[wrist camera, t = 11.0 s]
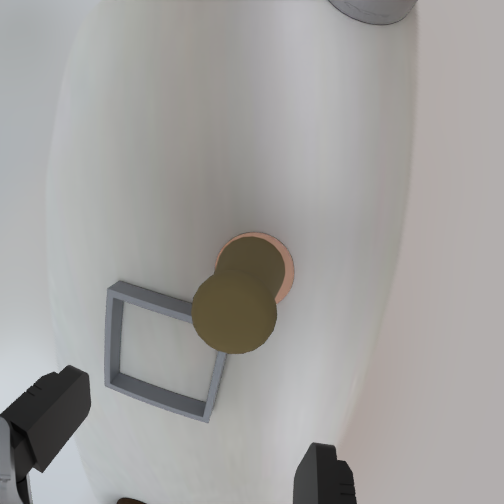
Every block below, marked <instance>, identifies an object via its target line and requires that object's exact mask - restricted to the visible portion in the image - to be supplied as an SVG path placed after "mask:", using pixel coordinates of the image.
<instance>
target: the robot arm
mask: <svg viewBox="0 0 504 504" xmlns="http://www.w3.org/2000/svg"><path fill="white" fill-rule="evenodd" d="M329 1H330V2H331V3H332V4H333V5H334V6H335V7H336V8H338V9H339V10H340V11H342V12H343V13H345V14H347V15H348V16H350V17H352V18H355V19H357V20H360V21H362V22H367V23H371V24H381V25H382V24H391V23H394V22H398V21H399V20H401V19H403V18H404V17H405V16H406V15H407V14H408V12H409V11H410V10H411V8H412V7H413V6H414V4H415V3H416V2H417V0H329ZM90 407H91V397H90V383H89V375H88V373H86V372H84V371H82V370H79V369H77V368H75V367H73V366H71V365H68V366H66V367H65V368H64V369H63V370H62V371H61V372H60V373H59V374H58V373H56V372H52V373H49V374H47V375H44V376H42V377H41V378H40V379H38V380H37V381H36V383H34V385H33V386H31V387H30V388H28V389H27V391H26V392H24V393H23V394H22V395H21V396H20V397H19V398H18V399H16V401H14V402H13V403H12V404H11V405H10V406H9V407H8V408H7V409H6V410H5V411H3V412H2V413H1V414H0V504H33V501H32V494H31V487H30V479H29V473H28V472H29V471H30V470H31V469H32V467H33V468H35V469H37V470H38V471H40V472H41V473H43V472H44V471H45V469H46V468H47V467H48V465H49V464H50V463H51V461H52V460H53V459H54V457H55V456H56V455H57V454H58V453H59V451H60V450H61V449H62V447H63V446H64V445H65V444H66V442H67V441H68V440H69V438H70V437H71V436H72V435H73V433H74V432H75V431H76V430H77V428H78V427H79V426H80V425H81V423H82V422H83V421H84V420H85V418H86V417H87V415H88V413H89V411H90ZM293 504H357V502H356V497H355V487H354V479H353V473H352V471H351V469H350V468H349V466H348V464H347V463H346V461H341V460H337V455H336V448H335V446H334V445H328V444H321V443H314V442H313V443H312V444H311V445H310V447H309V449H308V450H307V452H306V454H305V456H304V457H303V459H302V461H301V462H300V464H299V466H298V468H297V470H296V473H295V477H294V489H293Z"/></svg>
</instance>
